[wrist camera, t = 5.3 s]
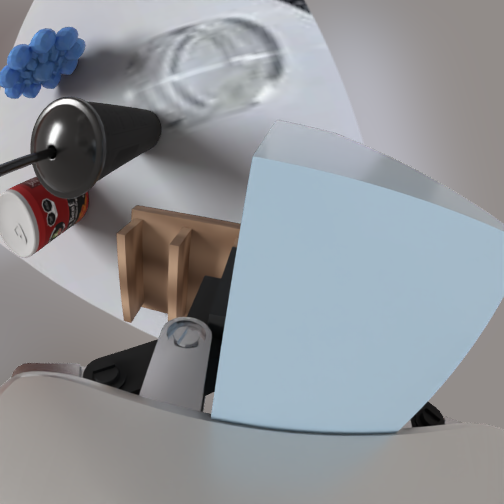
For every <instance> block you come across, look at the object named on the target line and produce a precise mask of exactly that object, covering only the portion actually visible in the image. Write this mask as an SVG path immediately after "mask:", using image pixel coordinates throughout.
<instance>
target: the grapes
mask: <svg viewBox="0 0 504 504" xmlns="http://www.w3.org/2000/svg"><path fill="white" fill-rule="evenodd" d="M85 46H86V45H85V42H84V40H82V39H81V38H78V32H77V30H76V29H75V28H73V27H65V28H62V29H61V30H60V31H58V32H57V34H56V33H55V31H53V30H52V29H48V28H45V29H42V30H39V31H38V32H37V33H36V34H35V35H34V37H33V38H32V40H31V43H30V44H29V45H26V44H20V45H17V46H15V47H14V48H13V49H12V50H11V52H10V54H9V56H8V59H7V64H8V65H6V66H5V67H4V68H3V69H2V70H1V72H0V86H1V87H3V88H5V94H6V95H7V97H9V98H14V99H16V98H19V97H20V96H21V94H23V96H25V97H27V98H35V97H36V95H37V94H38V93H39V91H40V89H41V84H42V86H43V87H45V88H48V89H54V88H55V87H56V86H57V84H58V83H59V81H60V79H61V74H65V75H69V74H72V72H73V71H74V70H75V68H76V66H77V63H78V59H79V57H80V56H81V55H82V54H83V52H84V50H85Z"/></svg>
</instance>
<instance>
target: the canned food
mask: <svg viewBox="0 0 504 504" xmlns="http://www.w3.org/2000/svg"><path fill="white" fill-rule="evenodd" d="M88 202H89V198H88V192H86V193H85V194H83V195H81V196H79V197H77V198H73V199H63V198H59V197H56V196H54V195H53V194H51V193H50V192H48V191H47V190H46V189H45V188H44V187H43V185H42V184H41V183H40V181H39V180H38V178H37V177H34V178H32V179H30V180H27V181H25V182H23V183H20V184H18V185H16V186H14V187H12V188H10V189H8V190H6V191H4V192H3V193H2V194H0V234H1V237H2V239H3V240H4V242H5V244H6V245H7V246H8V248H9V249H10V250H11V251H12V252H13V253H14V254H16V255H17V256H19V257H22V258H28V257H30V256H32V255H33V254H35V253H36V252H37V251H39V250H40V249H41V248H43V247H44V246H45V245H47V244H48V243H49V242H51V241H52V240H53V239H55V238H56V237H57V236H59V235H60V234H62V233H63V232H64V231H66V230H67V229H69V228H70V227H71V226H73V225H74V224H76V223H77V222H79V221H80V220H81V219H82V218H83V216H84V215H85V213H86V211H87V208H88Z"/></svg>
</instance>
